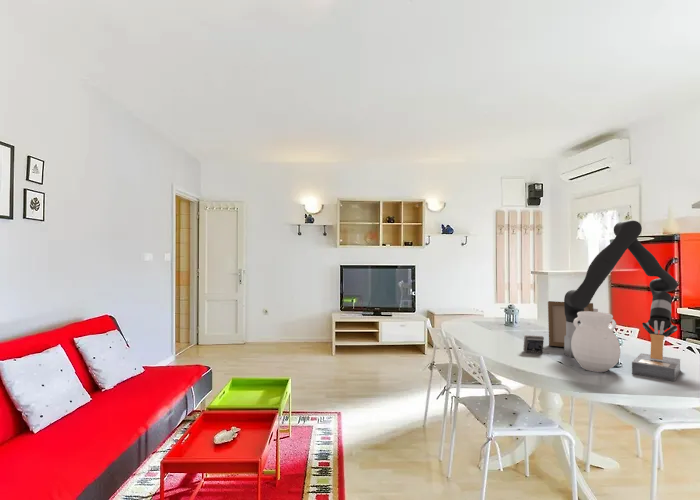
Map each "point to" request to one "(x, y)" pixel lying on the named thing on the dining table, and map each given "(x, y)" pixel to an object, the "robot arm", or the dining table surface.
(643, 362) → the box
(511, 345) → the dining table surface
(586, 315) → the white ceramic vase
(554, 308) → the photo frame
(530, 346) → the electrical switch
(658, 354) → the lever
